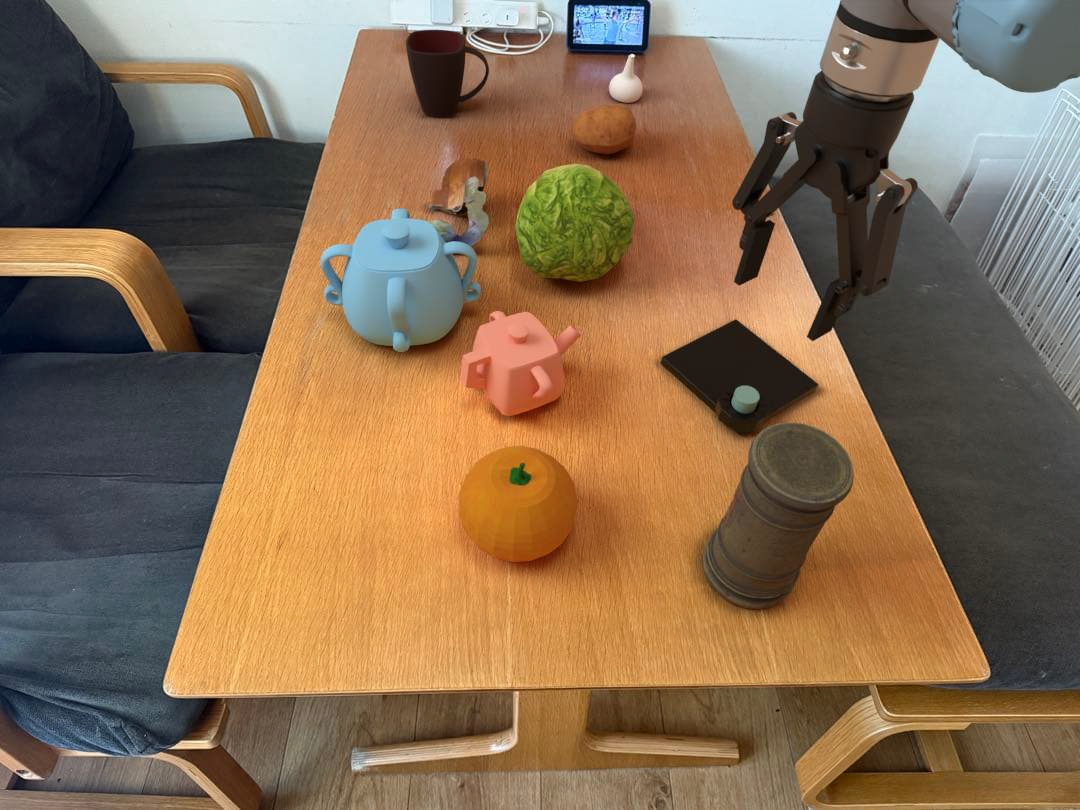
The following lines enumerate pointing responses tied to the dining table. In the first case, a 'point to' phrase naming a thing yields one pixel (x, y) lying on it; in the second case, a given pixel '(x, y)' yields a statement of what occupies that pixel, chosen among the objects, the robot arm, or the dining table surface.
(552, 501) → the fruit
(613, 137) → the potato
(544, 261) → the lettuce
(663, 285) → the dining table surface
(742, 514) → the container
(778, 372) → the scale
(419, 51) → the mug
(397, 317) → the decorative pot
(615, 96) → the garlic bulb
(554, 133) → the dining table surface
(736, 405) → the button
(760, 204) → the robot arm
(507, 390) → the teapot
